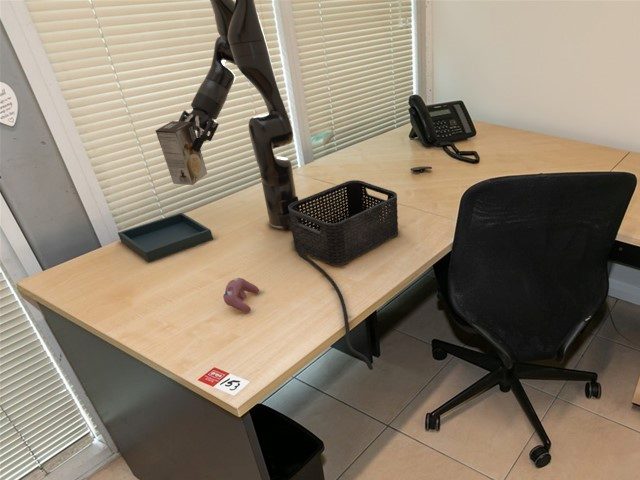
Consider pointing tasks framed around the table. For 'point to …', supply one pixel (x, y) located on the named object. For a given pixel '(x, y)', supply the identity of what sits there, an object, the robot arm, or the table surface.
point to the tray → (165, 236)
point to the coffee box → (181, 152)
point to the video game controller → (238, 294)
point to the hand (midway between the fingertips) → (186, 147)
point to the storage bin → (343, 222)
